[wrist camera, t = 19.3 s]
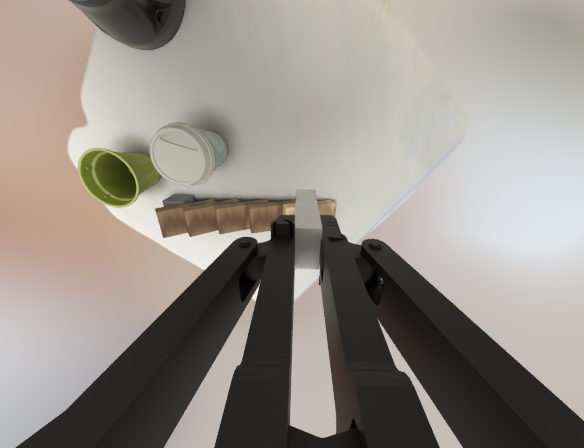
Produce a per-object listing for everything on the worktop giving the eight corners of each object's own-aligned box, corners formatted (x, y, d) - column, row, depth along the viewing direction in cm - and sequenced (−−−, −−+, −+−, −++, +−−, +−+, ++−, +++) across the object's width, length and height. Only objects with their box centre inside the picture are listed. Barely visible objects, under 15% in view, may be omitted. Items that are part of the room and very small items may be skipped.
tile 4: (235, 198, 43) (182, 208, 38) (239, 201, 41) (184, 211, 36) (238, 220, 45) (187, 232, 40) (242, 224, 43) (190, 236, 38)
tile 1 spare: (331, 199, 42) (282, 204, 39) (336, 202, 40) (285, 208, 38) (329, 222, 44) (283, 228, 42) (333, 226, 42) (285, 232, 40)
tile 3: (266, 198, 42) (214, 205, 39) (269, 201, 41) (215, 209, 37) (267, 221, 45) (218, 229, 41) (270, 224, 43) (219, 234, 39)
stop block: (174, 194, 43) (162, 200, 39) (193, 194, 43) (183, 201, 39) (180, 221, 46) (170, 229, 42) (198, 221, 45) (189, 229, 42)
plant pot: (113, 172, 42) (70, 183, 34) (131, 132, 38) (86, 134, 30) (157, 201, 44) (126, 218, 36) (177, 166, 40) (147, 176, 33)
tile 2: (297, 199, 42) (247, 204, 39) (301, 202, 41) (249, 208, 38) (297, 222, 44) (250, 228, 41) (300, 225, 43) (251, 233, 40)
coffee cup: (244, 151, 39) (222, 161, 28) (215, 180, 41) (184, 201, 31) (209, 111, 36) (169, 106, 25) (180, 145, 39) (132, 154, 28)
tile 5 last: (212, 199, 42) (155, 208, 37) (215, 201, 41) (156, 212, 36) (216, 221, 44) (162, 233, 39) (219, 225, 43) (163, 238, 38)
